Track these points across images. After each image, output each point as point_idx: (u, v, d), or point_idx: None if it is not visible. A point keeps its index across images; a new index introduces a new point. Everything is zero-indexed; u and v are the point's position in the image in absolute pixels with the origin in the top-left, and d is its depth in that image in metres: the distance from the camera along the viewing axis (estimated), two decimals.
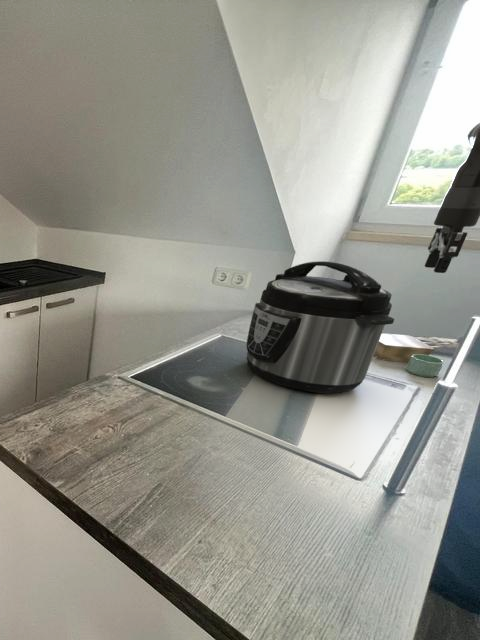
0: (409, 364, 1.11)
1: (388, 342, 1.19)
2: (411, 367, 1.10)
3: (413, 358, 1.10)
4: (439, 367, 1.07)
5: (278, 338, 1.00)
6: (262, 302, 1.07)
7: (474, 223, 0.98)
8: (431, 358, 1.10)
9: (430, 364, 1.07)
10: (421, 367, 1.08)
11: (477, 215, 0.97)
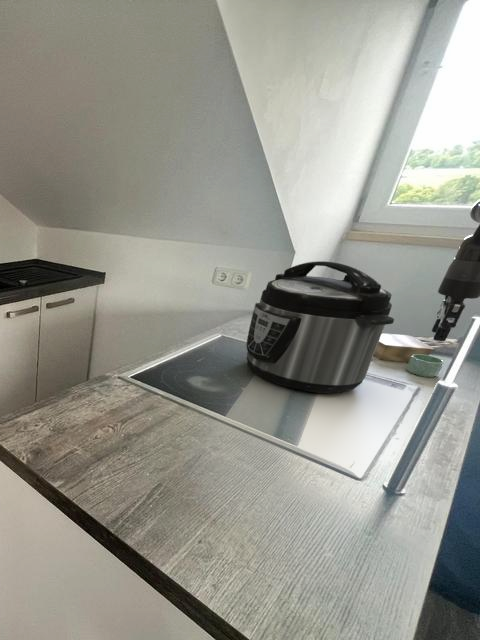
0: (409, 364, 1.11)
1: (388, 342, 1.19)
2: (411, 367, 1.10)
3: (413, 358, 1.10)
4: (439, 367, 1.07)
5: (278, 338, 1.00)
6: (262, 302, 1.07)
7: (476, 296, 0.98)
8: (431, 358, 1.10)
9: (430, 364, 1.07)
10: (421, 367, 1.08)
11: (479, 289, 0.97)
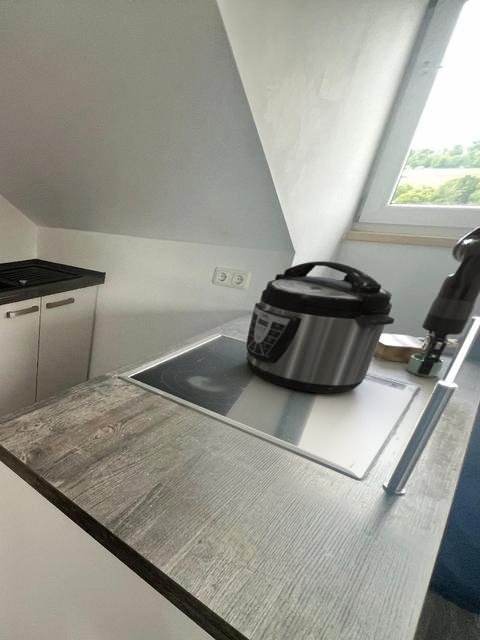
0: (409, 364, 1.11)
1: (388, 342, 1.19)
2: (411, 367, 1.10)
3: (413, 358, 1.10)
4: (439, 367, 1.07)
5: (278, 338, 1.00)
6: (262, 302, 1.07)
7: (458, 332, 1.02)
8: None
9: None
10: None
11: (461, 326, 1.01)
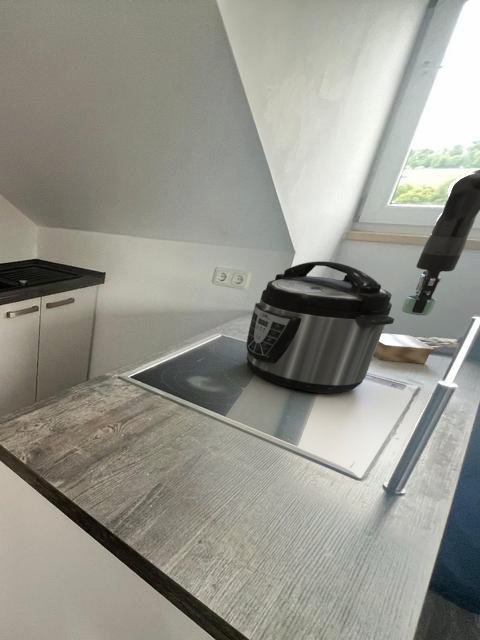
0: (404, 304, 1.15)
1: (388, 342, 1.19)
2: (405, 307, 1.15)
3: (407, 298, 1.14)
4: (432, 305, 1.11)
5: (278, 338, 1.00)
6: (262, 302, 1.07)
7: (450, 268, 1.06)
8: None
9: None
10: None
11: (453, 262, 1.06)
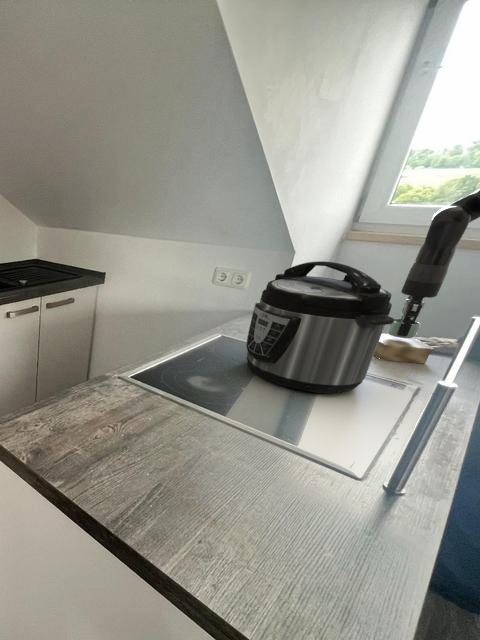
0: (389, 327, 1.20)
1: (388, 342, 1.19)
2: (391, 330, 1.20)
3: None
4: (416, 329, 1.16)
5: (278, 338, 1.00)
6: (262, 302, 1.07)
7: (433, 295, 1.11)
8: None
9: None
10: None
11: (435, 289, 1.10)
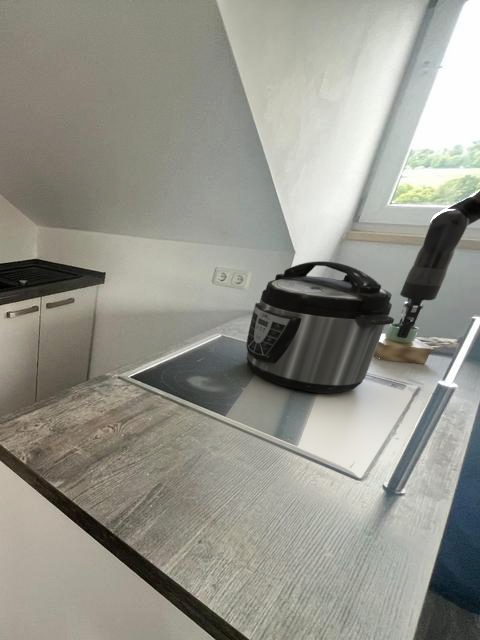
0: (387, 332, 1.21)
1: (388, 342, 1.19)
2: (389, 335, 1.20)
3: (391, 326, 1.20)
4: (414, 334, 1.17)
5: (278, 338, 1.00)
6: (262, 302, 1.07)
7: (432, 298, 1.12)
8: None
9: None
10: None
11: (434, 292, 1.11)
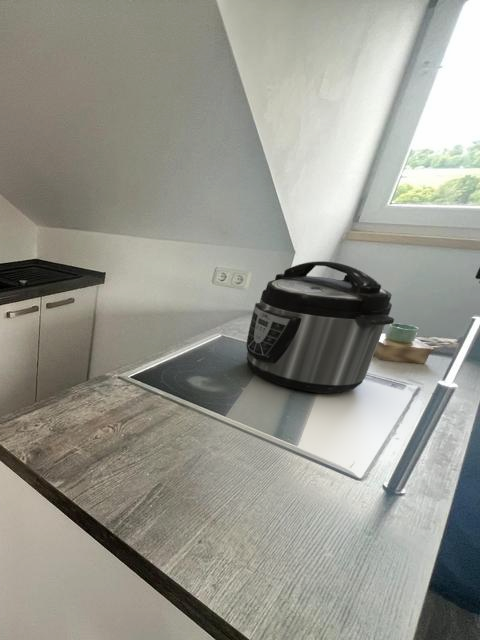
0: (387, 332, 1.21)
1: (388, 342, 1.19)
2: (389, 335, 1.20)
3: (391, 326, 1.20)
4: (414, 334, 1.17)
5: (278, 338, 1.00)
6: (262, 302, 1.07)
7: None
8: (407, 327, 1.20)
9: (406, 331, 1.17)
10: (398, 334, 1.18)
11: None
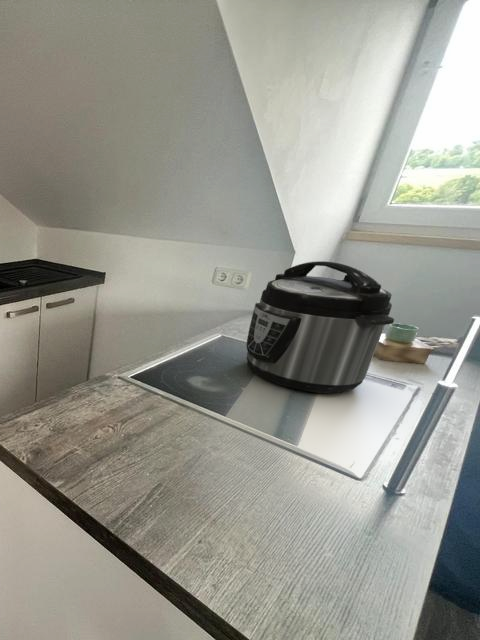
0: (387, 332, 1.21)
1: (388, 342, 1.19)
2: (389, 335, 1.20)
3: (391, 326, 1.20)
4: (414, 334, 1.17)
5: (278, 338, 1.00)
6: (262, 302, 1.07)
7: None
8: (407, 327, 1.20)
9: (406, 331, 1.17)
10: (398, 334, 1.18)
11: None
